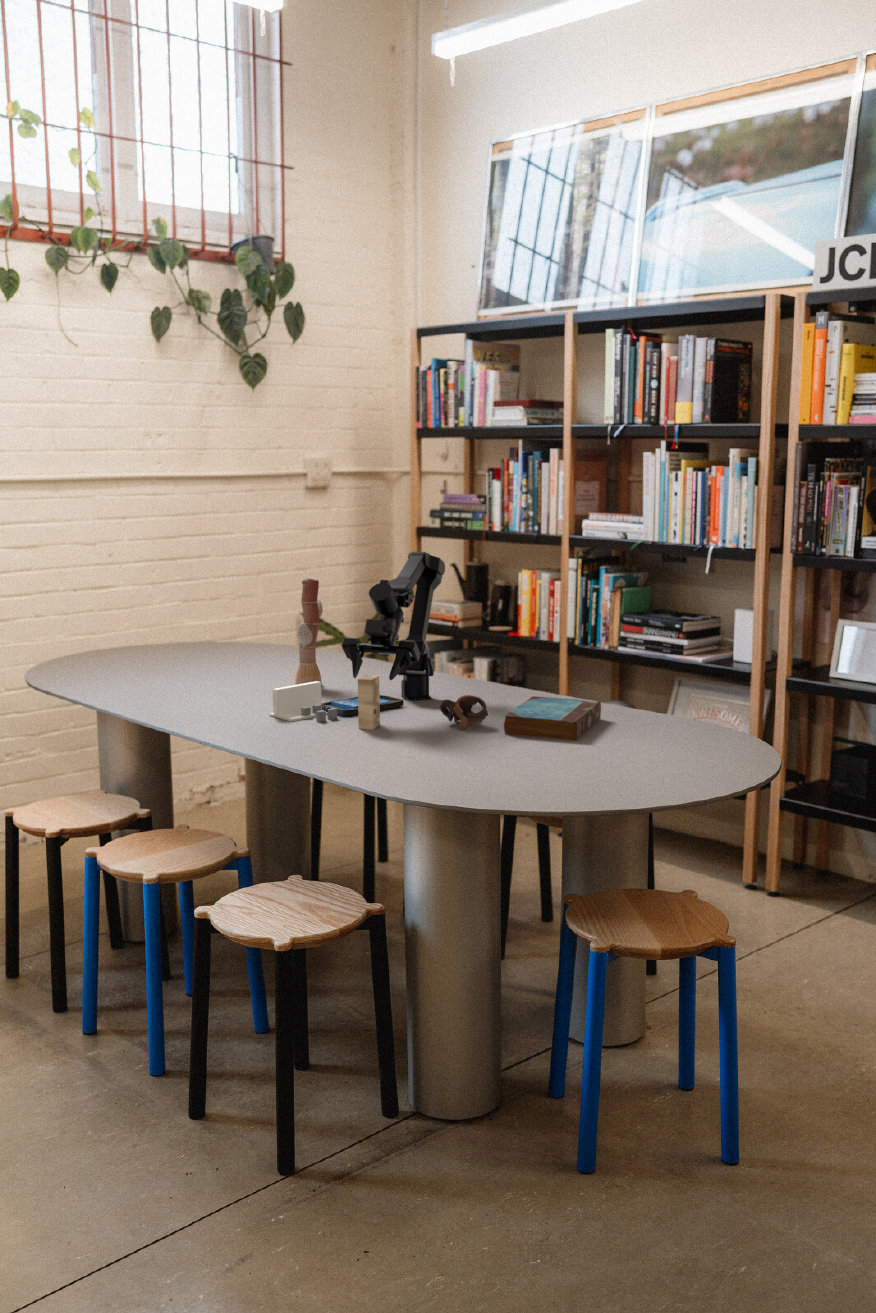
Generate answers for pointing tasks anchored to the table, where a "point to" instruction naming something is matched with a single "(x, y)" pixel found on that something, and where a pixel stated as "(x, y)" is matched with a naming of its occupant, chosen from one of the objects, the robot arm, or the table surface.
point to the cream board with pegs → (300, 703)
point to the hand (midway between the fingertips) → (372, 678)
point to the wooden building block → (368, 702)
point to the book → (552, 718)
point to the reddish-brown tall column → (309, 633)
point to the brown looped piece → (464, 710)
